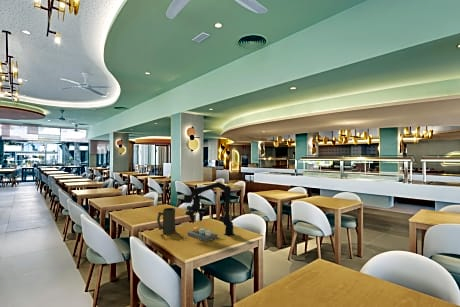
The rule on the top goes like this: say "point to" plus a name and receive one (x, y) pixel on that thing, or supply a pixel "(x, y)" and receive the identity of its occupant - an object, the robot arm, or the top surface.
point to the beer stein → (167, 221)
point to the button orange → (196, 229)
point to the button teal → (201, 231)
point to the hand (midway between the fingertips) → (196, 222)
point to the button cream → (208, 233)
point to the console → (202, 236)
